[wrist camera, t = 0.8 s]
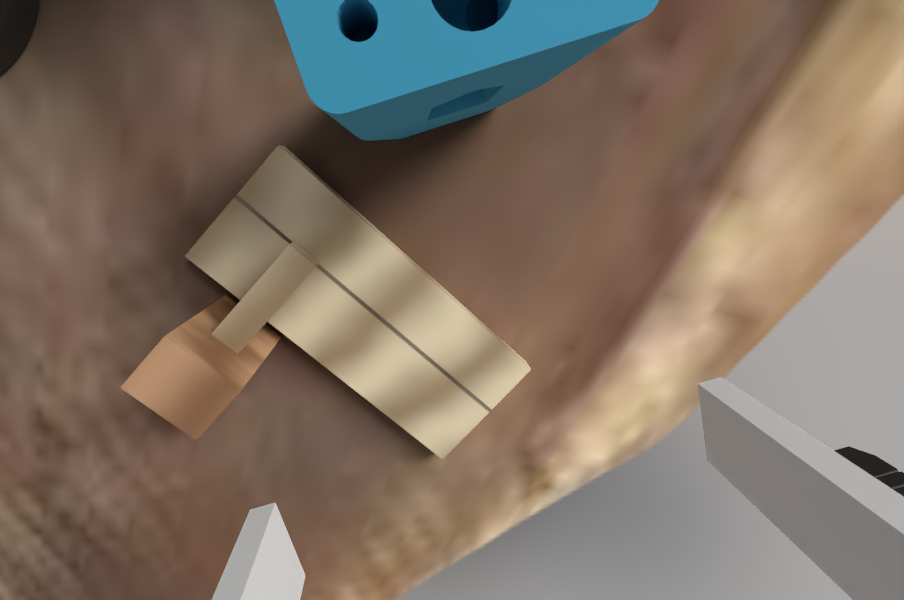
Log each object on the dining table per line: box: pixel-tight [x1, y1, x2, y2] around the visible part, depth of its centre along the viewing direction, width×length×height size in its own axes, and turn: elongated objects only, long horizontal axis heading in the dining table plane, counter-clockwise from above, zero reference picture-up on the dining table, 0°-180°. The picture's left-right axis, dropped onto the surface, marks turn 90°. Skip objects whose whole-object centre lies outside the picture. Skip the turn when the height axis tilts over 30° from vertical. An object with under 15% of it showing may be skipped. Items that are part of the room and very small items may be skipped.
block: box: [274, 0, 659, 141], centre depth 26 cm, size 12×5×20 cm, turn 107°
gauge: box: [120, 241, 320, 440], centre depth 33 cm, size 5×12×10 cm, turn 137°
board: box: [185, 145, 531, 459], centre depth 38 cm, size 24×10×2 cm, turn 47°
